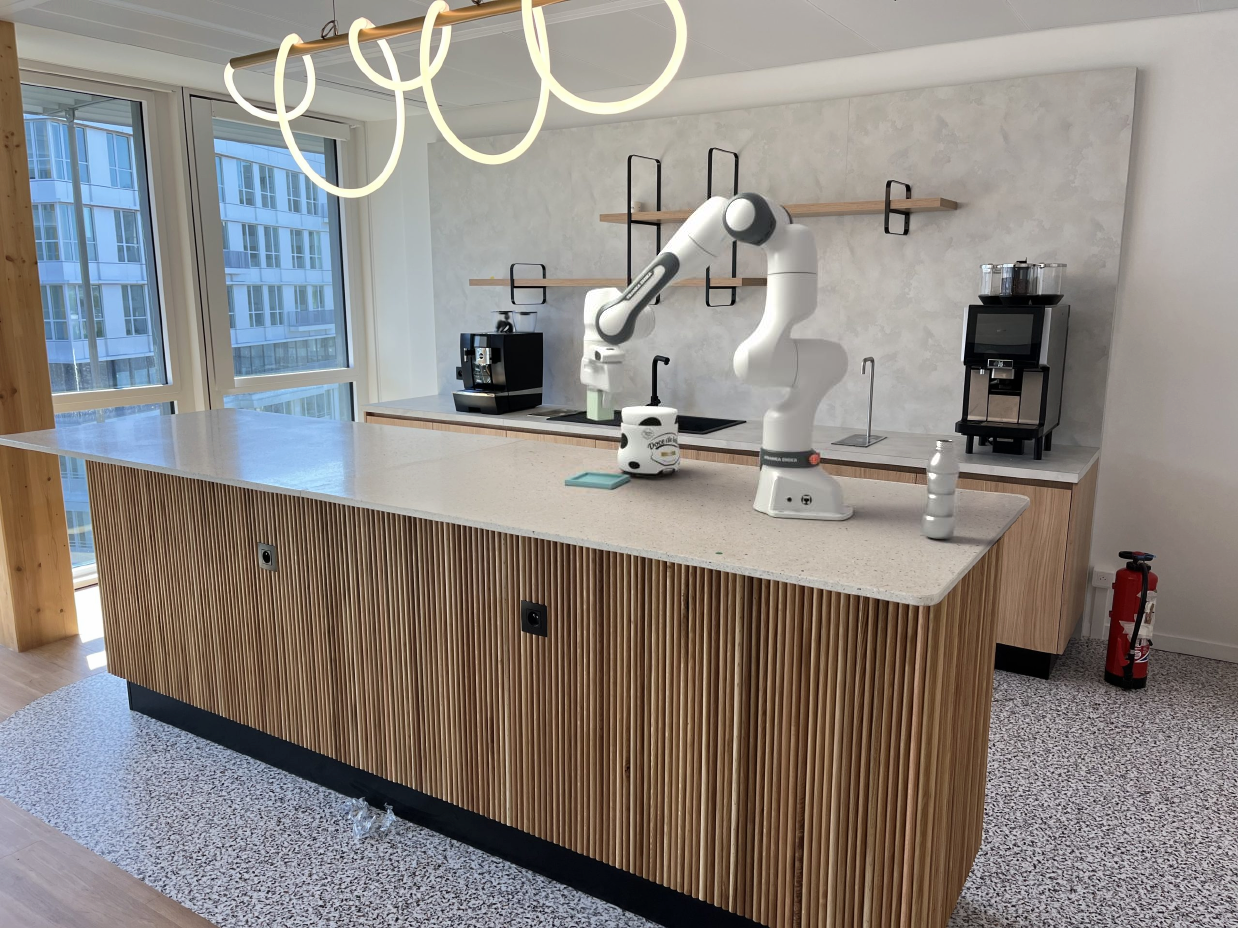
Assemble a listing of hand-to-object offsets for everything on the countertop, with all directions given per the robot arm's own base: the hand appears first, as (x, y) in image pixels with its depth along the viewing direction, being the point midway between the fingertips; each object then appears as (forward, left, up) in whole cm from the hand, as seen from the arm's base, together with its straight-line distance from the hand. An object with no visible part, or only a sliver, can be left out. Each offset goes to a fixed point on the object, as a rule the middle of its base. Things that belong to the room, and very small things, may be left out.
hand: (600, 405), depth 229 cm
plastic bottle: (-84, +23, -21) cm, 90 cm away
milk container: (-7, -17, -21) cm, 28 cm away
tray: (+1, 0, -20) cm, 20 cm away
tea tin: (0, 0, -3) cm, 3 cm away
